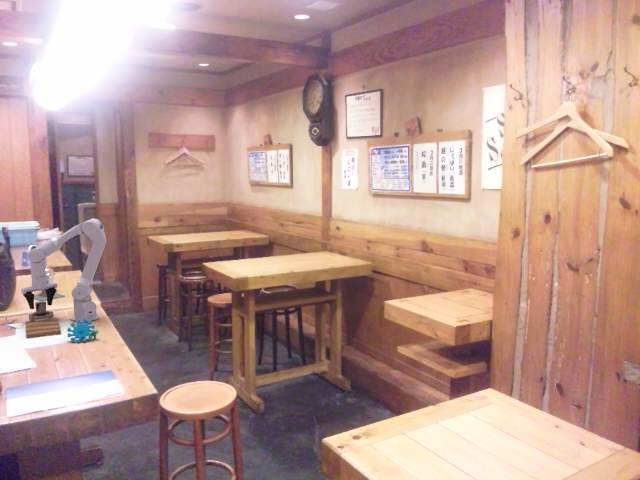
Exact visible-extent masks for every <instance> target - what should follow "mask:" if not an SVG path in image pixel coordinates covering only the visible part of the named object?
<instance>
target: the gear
mask: <svg viewBox="0 0 640 480" xmlns="http://www.w3.org/2000/svg"><path fill="white" fill-rule="evenodd" d="M75 323H76V326H75ZM75 323H74V322H71V323H70V327H68V328H67V329H66V330H67V332H68V333H67V337H68V338H70V341H71V342H72V343H73V342H74V341H75V343H76V342H78V343H77V344H80V343H81V340H82V343H87V342H88V341H87V337H88V339H89V340H91V339H93V338H94V339H96V338H97V334H99V330H98V329H95V328H96V326H95V324H93V322H92V321H88V322H87V320H86V319H83V322H82V323H81V322H80V320H76V321H75ZM71 327H72V328H73V329H72V328H71ZM95 337H96V338H95ZM86 341H87V342H86ZM79 342H80V343H79Z"/></svg>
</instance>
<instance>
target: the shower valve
mask: <svg viewBox="0 0 640 480" xmlns="http://www.w3.org/2000/svg"><path fill="white" fill-rule="evenodd" d="M40 291H41V294H35V295H34V300H35V301H38V302H47V295H46V291H45V290H40ZM65 297H66V295H64V294H60V293H57V292H56V293H55V295H54V297H53V300H54V299H55V300H56V299H61V298H65Z"/></svg>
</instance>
